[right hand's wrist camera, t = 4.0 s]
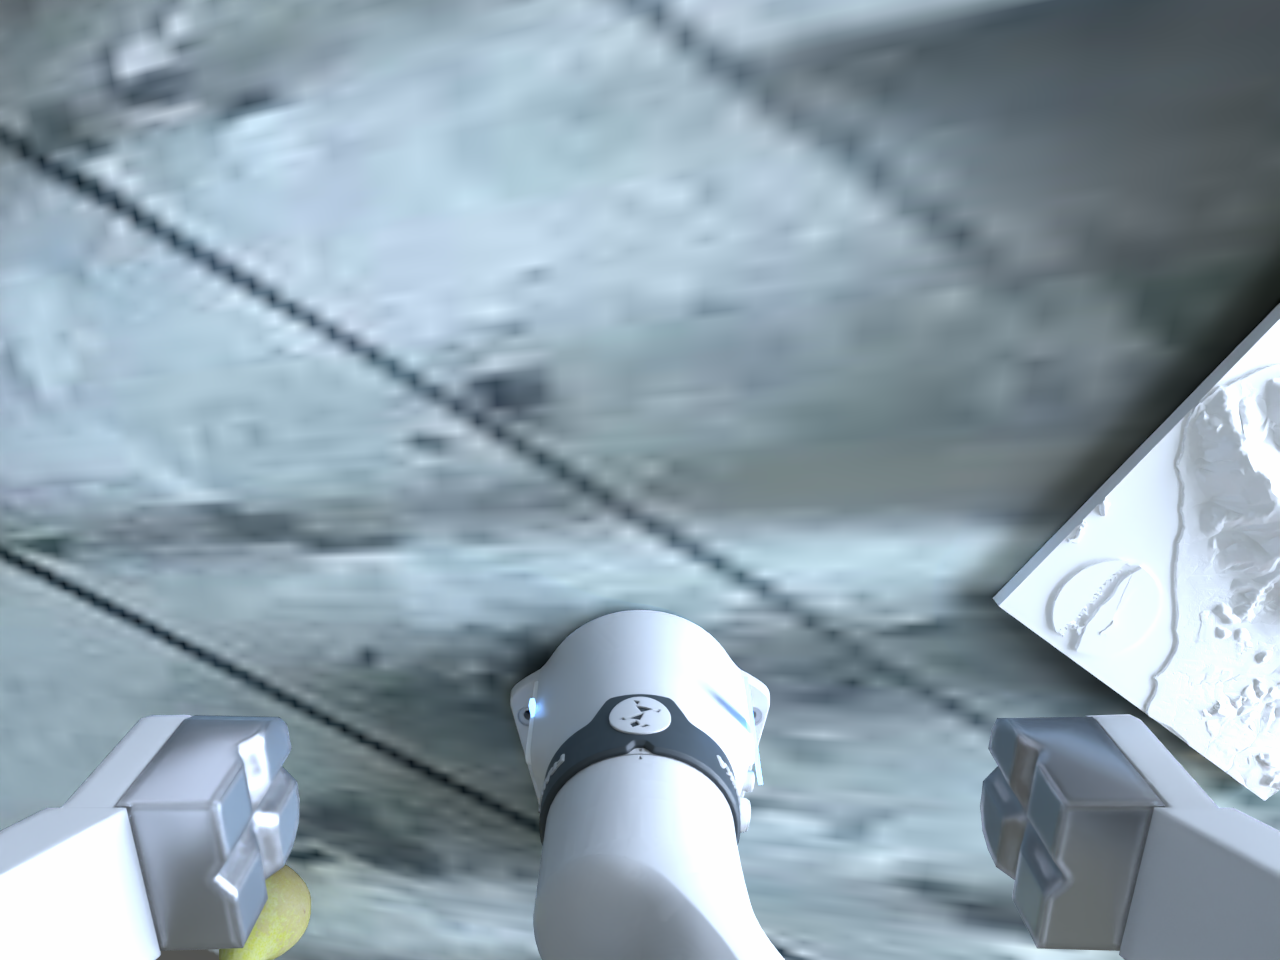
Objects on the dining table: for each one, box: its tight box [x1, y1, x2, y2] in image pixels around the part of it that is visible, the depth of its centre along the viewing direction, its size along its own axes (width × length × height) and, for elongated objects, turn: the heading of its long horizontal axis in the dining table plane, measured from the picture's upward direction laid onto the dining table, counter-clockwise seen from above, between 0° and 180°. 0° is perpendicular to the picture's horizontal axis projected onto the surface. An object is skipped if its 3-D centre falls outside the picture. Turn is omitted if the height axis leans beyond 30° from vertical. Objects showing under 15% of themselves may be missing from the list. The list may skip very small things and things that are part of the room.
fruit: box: [219, 865, 311, 960], centre depth 66 cm, size 7×8×12 cm
